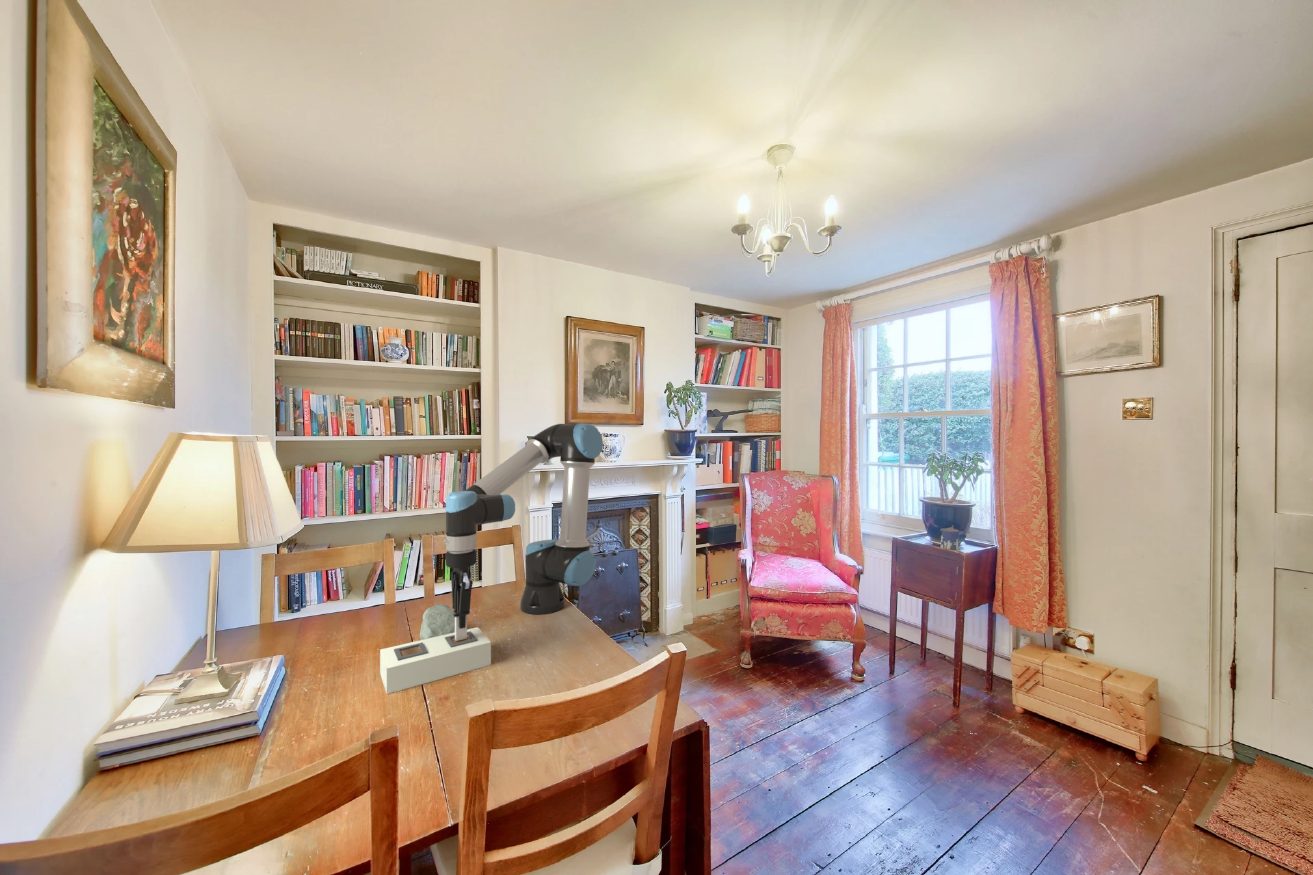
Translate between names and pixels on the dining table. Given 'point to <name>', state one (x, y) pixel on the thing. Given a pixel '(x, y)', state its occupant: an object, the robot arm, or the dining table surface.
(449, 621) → the decorative stone
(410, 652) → the peg
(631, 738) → the dining table surface
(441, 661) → the socket block
